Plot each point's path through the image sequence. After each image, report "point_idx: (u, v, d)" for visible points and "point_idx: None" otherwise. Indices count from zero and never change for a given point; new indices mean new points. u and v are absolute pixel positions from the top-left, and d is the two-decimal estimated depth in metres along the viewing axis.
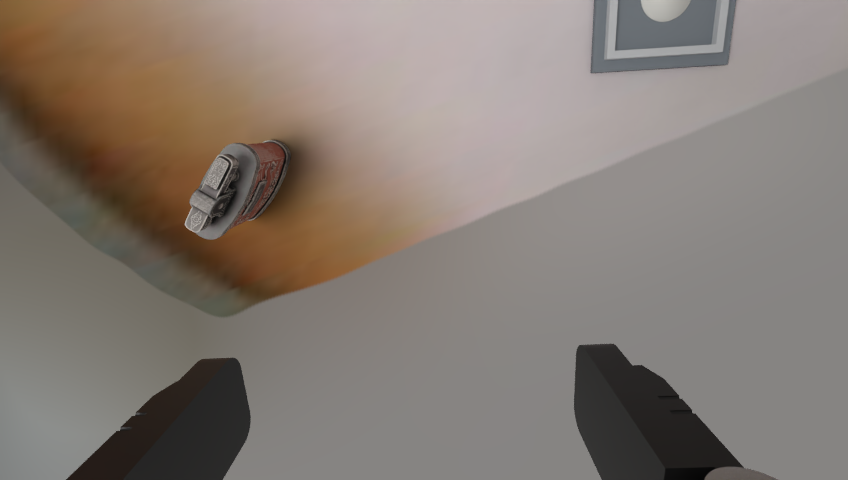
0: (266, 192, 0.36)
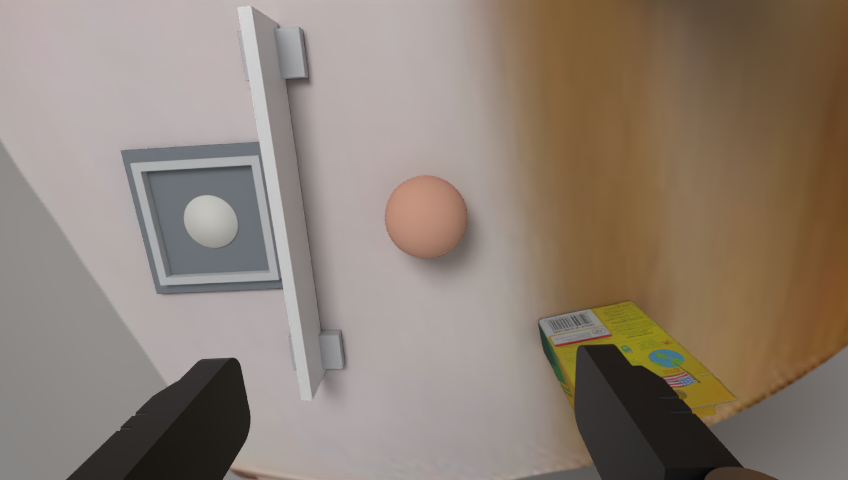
0: None
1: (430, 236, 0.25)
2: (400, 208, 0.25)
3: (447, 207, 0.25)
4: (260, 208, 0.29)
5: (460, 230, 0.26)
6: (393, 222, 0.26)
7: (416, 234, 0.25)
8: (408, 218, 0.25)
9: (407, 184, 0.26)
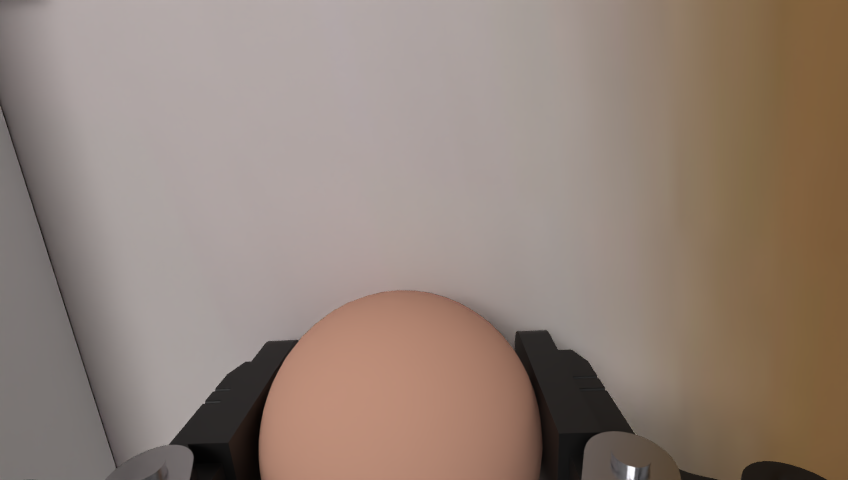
0: None
1: None
2: (290, 462, 0.06)
3: (483, 467, 0.06)
4: None
5: None
6: None
7: None
8: None
9: (328, 345, 0.07)
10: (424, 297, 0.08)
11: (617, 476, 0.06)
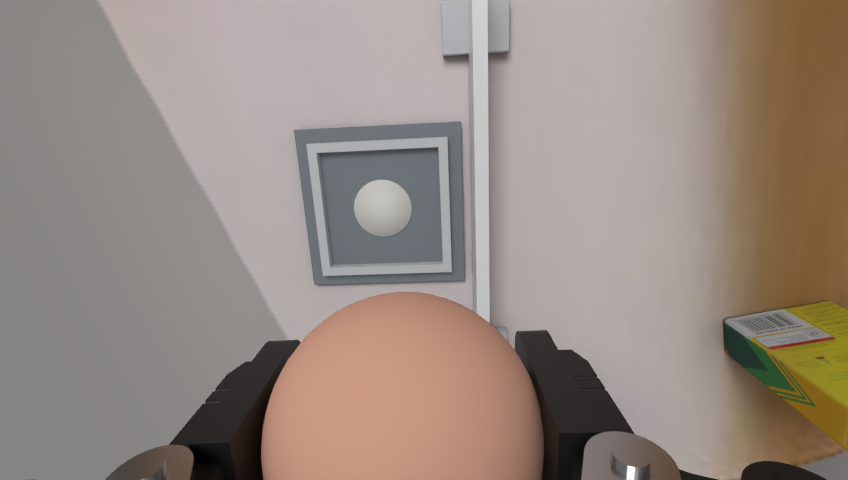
0: None
1: None
2: (293, 463, 0.06)
3: (486, 469, 0.06)
4: (442, 194, 0.27)
5: None
6: None
7: None
8: None
9: (331, 347, 0.07)
10: (426, 299, 0.08)
11: (617, 476, 0.05)
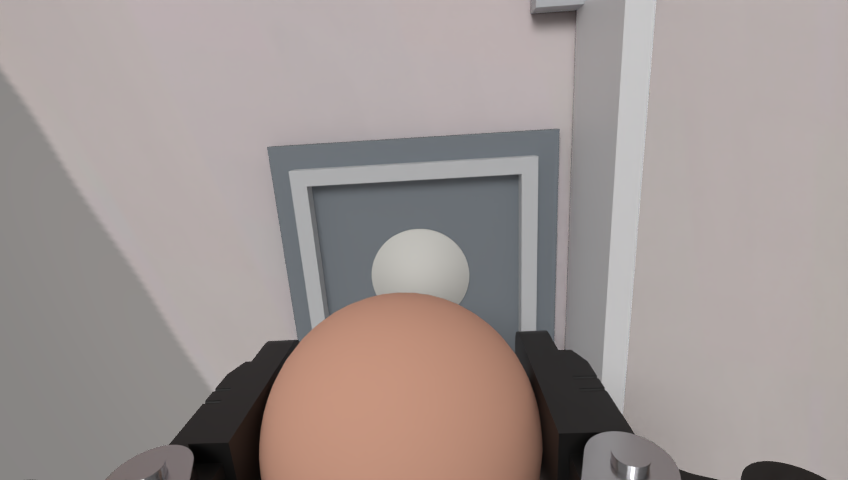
0: None
1: None
2: (291, 464, 0.06)
3: (484, 470, 0.06)
4: (525, 254, 0.16)
5: None
6: None
7: None
8: None
9: (329, 347, 0.07)
10: (424, 299, 0.08)
11: (617, 476, 0.06)
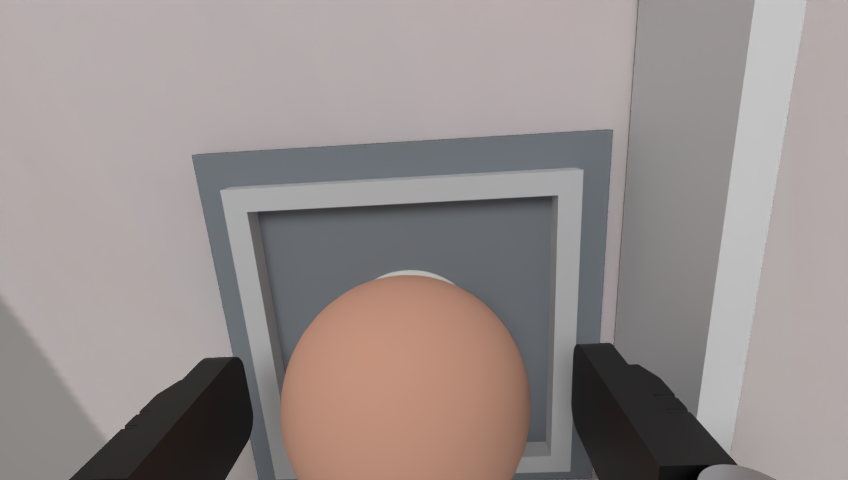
0: None
1: None
2: (311, 417, 0.07)
3: (478, 420, 0.07)
4: (560, 308, 0.11)
5: (516, 467, 0.08)
6: (291, 453, 0.08)
7: None
8: (336, 463, 0.07)
9: (342, 320, 0.08)
10: (426, 280, 0.09)
11: None
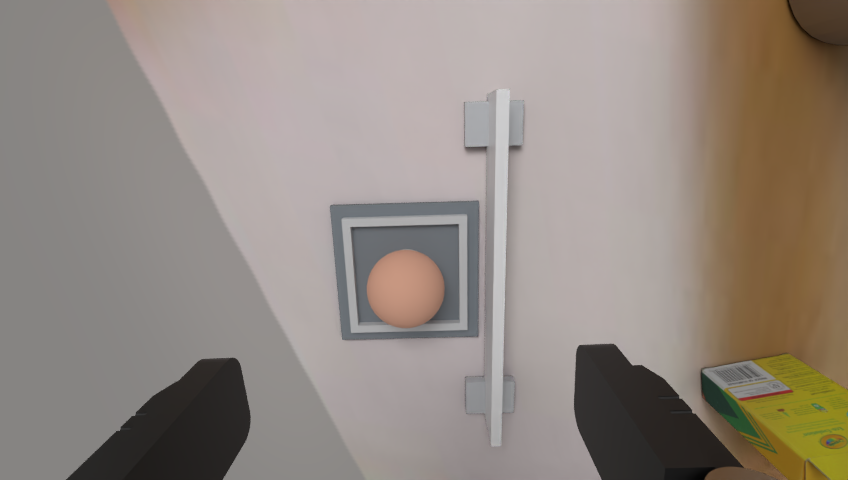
0: None
1: (408, 313, 0.27)
2: (380, 285, 0.27)
3: (425, 286, 0.27)
4: (461, 264, 0.31)
5: (437, 305, 0.28)
6: (374, 297, 0.27)
7: (396, 310, 0.27)
8: (388, 296, 0.27)
9: (388, 260, 0.28)
10: (412, 251, 0.29)
11: None
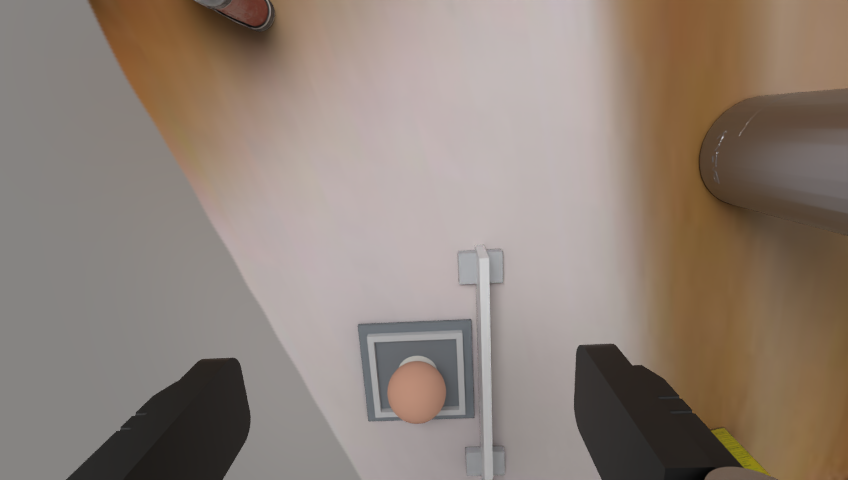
0: None
1: (419, 416, 0.36)
2: (398, 396, 0.36)
3: (431, 396, 0.36)
4: (458, 367, 0.40)
5: (440, 407, 0.37)
6: (393, 403, 0.37)
7: (409, 415, 0.36)
8: (403, 404, 0.36)
9: (403, 375, 0.37)
10: (421, 364, 0.38)
11: None
